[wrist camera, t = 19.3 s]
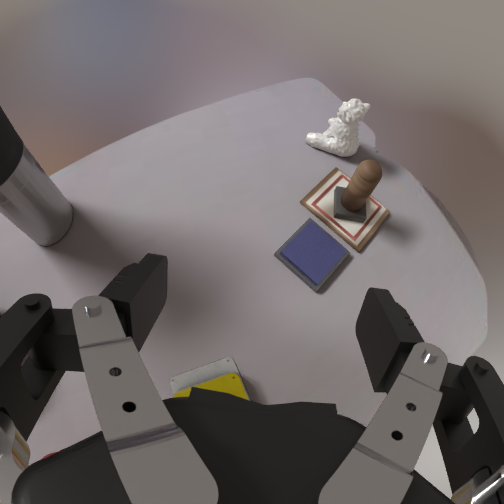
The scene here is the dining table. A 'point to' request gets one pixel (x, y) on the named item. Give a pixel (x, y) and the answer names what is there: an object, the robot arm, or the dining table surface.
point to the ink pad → (312, 254)
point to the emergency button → (211, 379)
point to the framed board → (349, 231)
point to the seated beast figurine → (341, 130)
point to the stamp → (357, 192)
